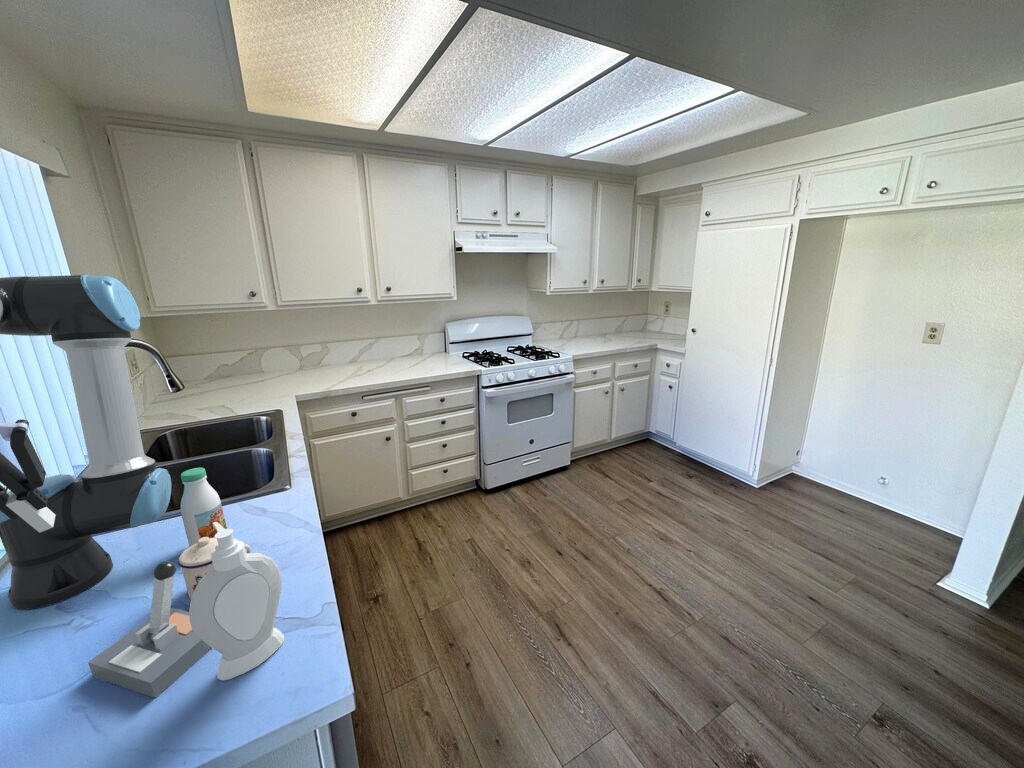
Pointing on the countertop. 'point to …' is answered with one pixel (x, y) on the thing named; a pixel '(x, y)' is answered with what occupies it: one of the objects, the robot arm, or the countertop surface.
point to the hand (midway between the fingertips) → (47, 523)
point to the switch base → (151, 656)
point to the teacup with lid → (198, 562)
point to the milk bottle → (200, 506)
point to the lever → (161, 598)
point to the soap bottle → (237, 606)
